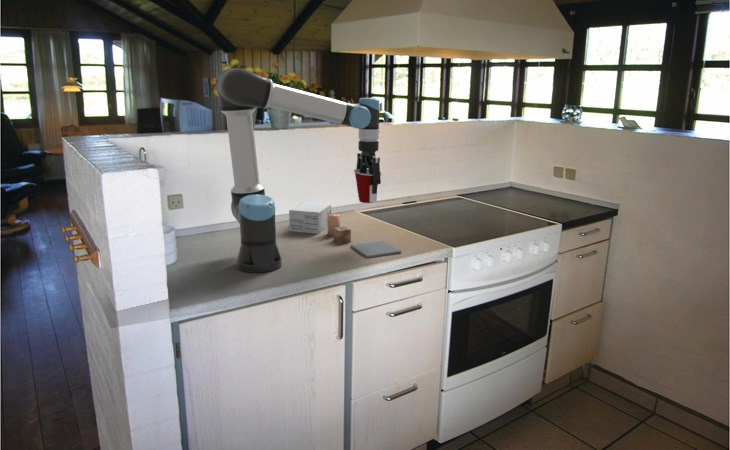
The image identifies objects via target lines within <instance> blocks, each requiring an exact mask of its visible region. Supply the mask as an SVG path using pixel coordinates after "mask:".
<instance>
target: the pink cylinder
mask: <svg viewBox="0 0 730 450" xmlns="http://www.w3.org/2000/svg"><path fill="white" fill-rule="evenodd" d="M336 227H341V214H339V213H331V214H328V227H327V235H328V236H331V237H332V236H333V237H334V228H336Z"/></svg>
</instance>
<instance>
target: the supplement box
mask: <svg viewBox="0 0 730 450" xmlns="http://www.w3.org/2000/svg"><path fill="white" fill-rule="evenodd" d="M288 212H289V213H288V215H289V218H288V220H289V221H288V222H289V224H288V227H289V232H295V233H306V234H316V235H320V233H321V232H322V231H324V230H325V229H326V228H328V214H332V204H331V203H324V202H311V201H309V202H308V201H303V202H300V204H297V205H296V206H294V207H293V208H291V209H289V211H288Z"/></svg>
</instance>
